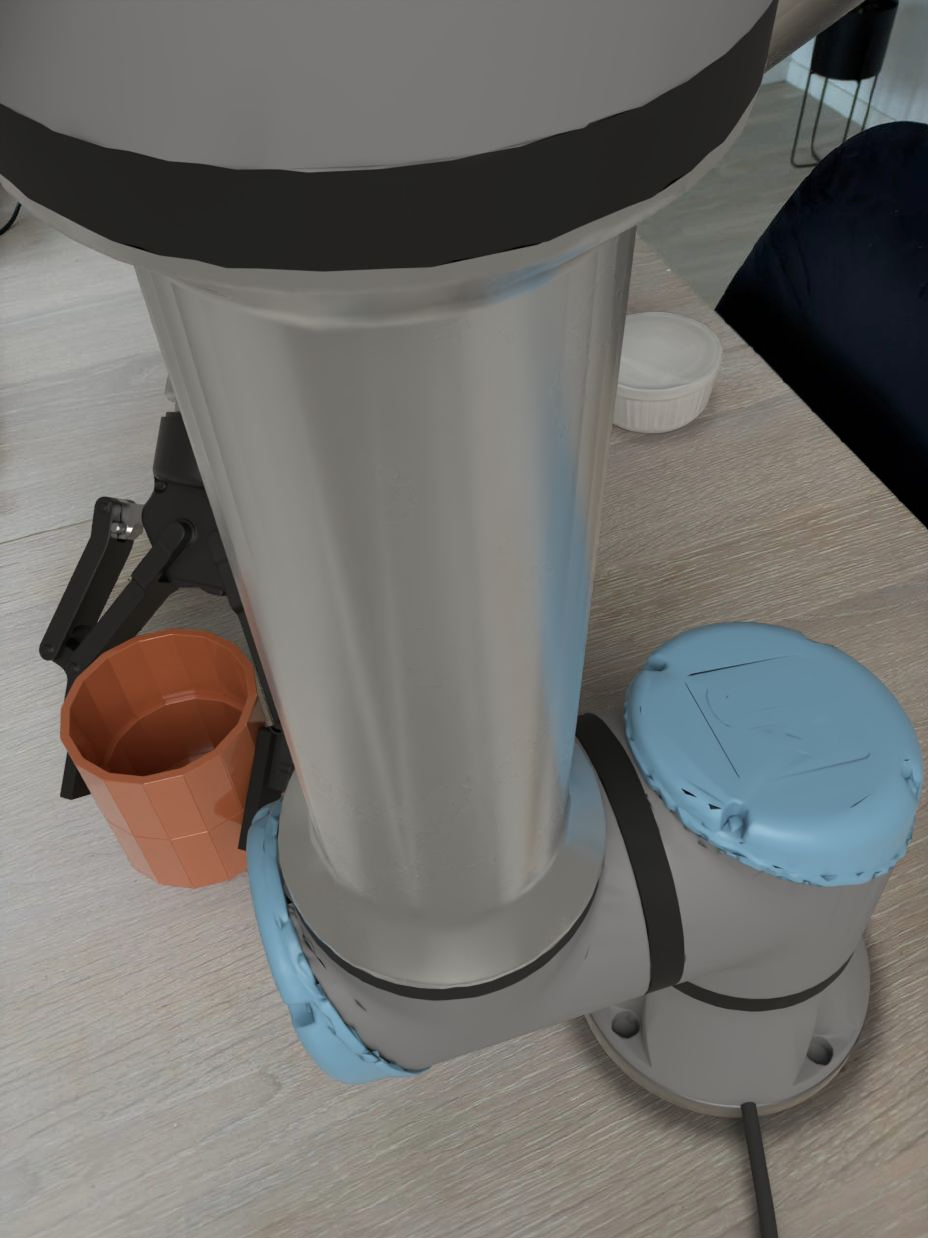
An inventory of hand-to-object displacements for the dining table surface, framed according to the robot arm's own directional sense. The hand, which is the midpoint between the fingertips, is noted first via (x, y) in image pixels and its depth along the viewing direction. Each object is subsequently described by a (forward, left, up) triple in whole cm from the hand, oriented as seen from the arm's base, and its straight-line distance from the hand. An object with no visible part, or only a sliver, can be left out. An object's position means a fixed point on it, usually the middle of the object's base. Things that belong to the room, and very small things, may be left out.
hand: (165, 819), depth 60 cm
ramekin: (+48, -24, -6) cm, 54 cm away
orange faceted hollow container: (+3, 0, -4) cm, 5 cm away
